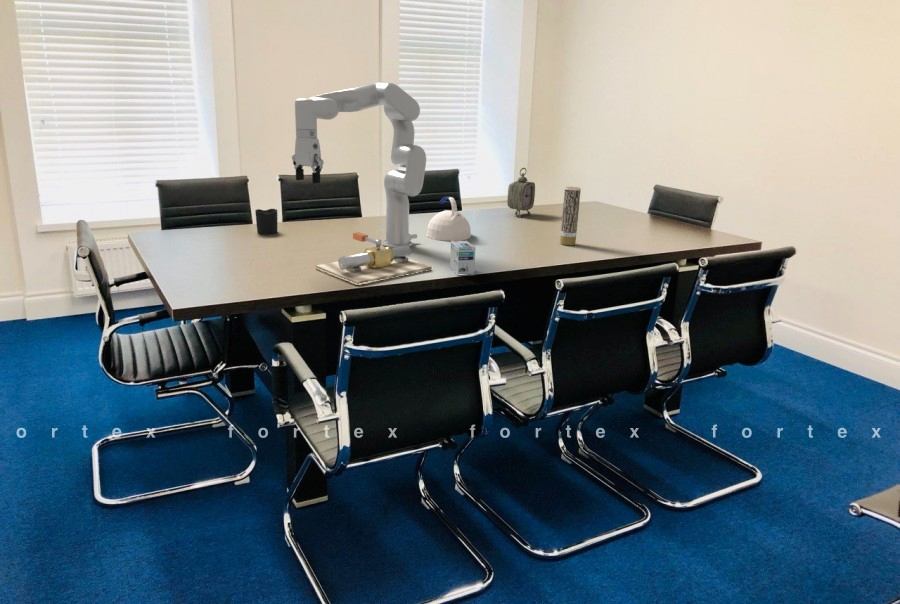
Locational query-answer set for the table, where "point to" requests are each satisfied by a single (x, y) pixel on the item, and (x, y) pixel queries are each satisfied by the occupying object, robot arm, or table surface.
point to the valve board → (375, 271)
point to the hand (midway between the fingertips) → (308, 181)
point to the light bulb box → (462, 257)
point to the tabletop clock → (521, 194)
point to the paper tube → (570, 215)
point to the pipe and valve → (375, 258)
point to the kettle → (449, 224)
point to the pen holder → (266, 221)
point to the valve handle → (365, 238)
